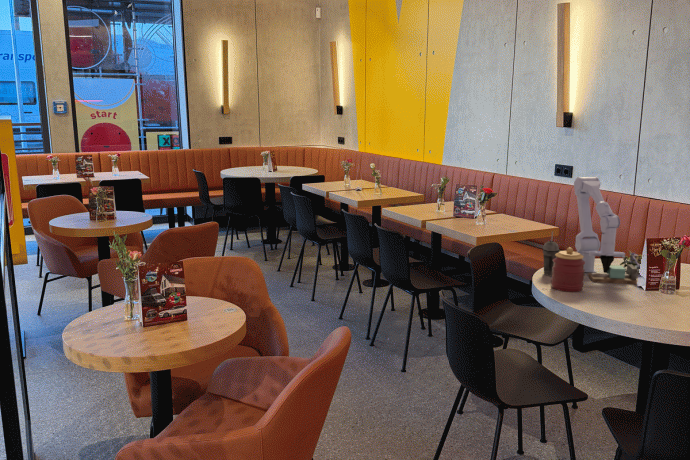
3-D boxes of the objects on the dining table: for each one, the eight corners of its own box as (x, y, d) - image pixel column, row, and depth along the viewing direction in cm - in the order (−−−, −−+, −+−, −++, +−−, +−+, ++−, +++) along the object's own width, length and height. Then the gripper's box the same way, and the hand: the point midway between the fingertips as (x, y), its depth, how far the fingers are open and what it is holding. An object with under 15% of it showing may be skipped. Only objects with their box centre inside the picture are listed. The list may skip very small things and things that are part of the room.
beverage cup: (539, 275, 274) (542, 232, 270) (542, 271, 280) (545, 229, 276) (556, 277, 270) (559, 234, 267) (558, 273, 277) (561, 231, 273)
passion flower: (638, 284, 278) (641, 268, 270) (614, 276, 285) (616, 259, 276) (647, 267, 284) (650, 251, 275) (624, 260, 290) (626, 243, 281)
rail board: (593, 282, 263) (594, 267, 262) (587, 276, 272) (589, 262, 271) (636, 284, 260) (638, 269, 259) (630, 277, 270) (631, 263, 268)
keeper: (610, 277, 263) (610, 268, 262) (606, 274, 269) (607, 265, 268) (624, 278, 262) (625, 269, 261) (620, 274, 268) (621, 265, 267)
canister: (581, 284, 259) (584, 245, 255) (584, 293, 247) (588, 252, 243) (549, 282, 262) (552, 243, 259) (551, 291, 250) (554, 249, 246)
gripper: (592, 243, 261) (590, 273, 263) (628, 245, 258) (625, 275, 261) (589, 240, 267) (586, 269, 270) (623, 241, 265) (620, 271, 268)
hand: (605, 272), depth 266 cm, fingers closed
